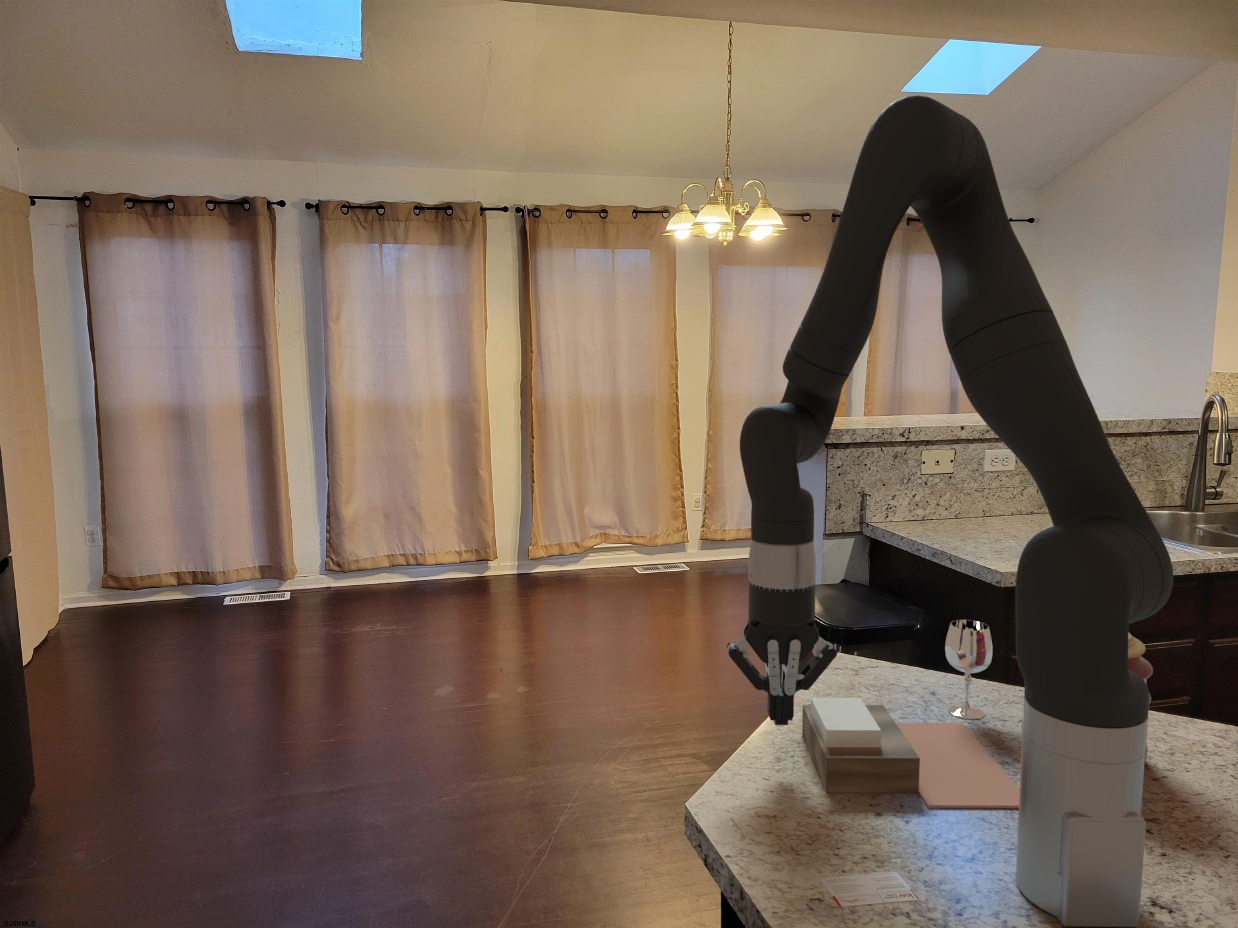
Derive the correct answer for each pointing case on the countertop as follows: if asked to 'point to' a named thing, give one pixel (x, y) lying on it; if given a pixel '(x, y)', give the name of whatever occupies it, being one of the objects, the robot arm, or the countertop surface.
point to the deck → (865, 759)
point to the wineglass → (968, 658)
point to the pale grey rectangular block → (845, 722)
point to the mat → (958, 768)
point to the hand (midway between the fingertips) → (780, 722)
